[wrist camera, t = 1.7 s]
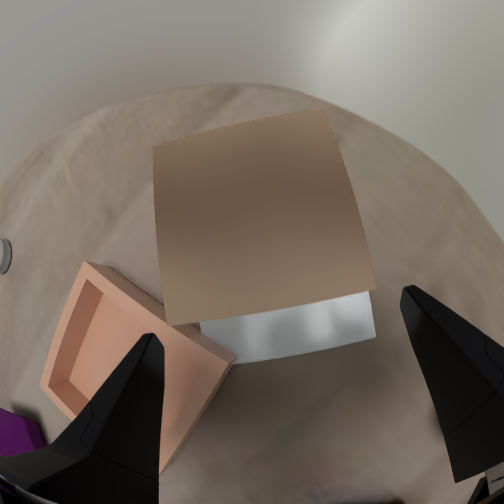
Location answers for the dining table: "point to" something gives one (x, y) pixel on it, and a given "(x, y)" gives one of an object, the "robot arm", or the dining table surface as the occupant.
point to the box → (119, 344)
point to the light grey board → (294, 329)
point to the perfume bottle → (19, 434)
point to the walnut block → (256, 220)
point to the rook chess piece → (4, 255)
